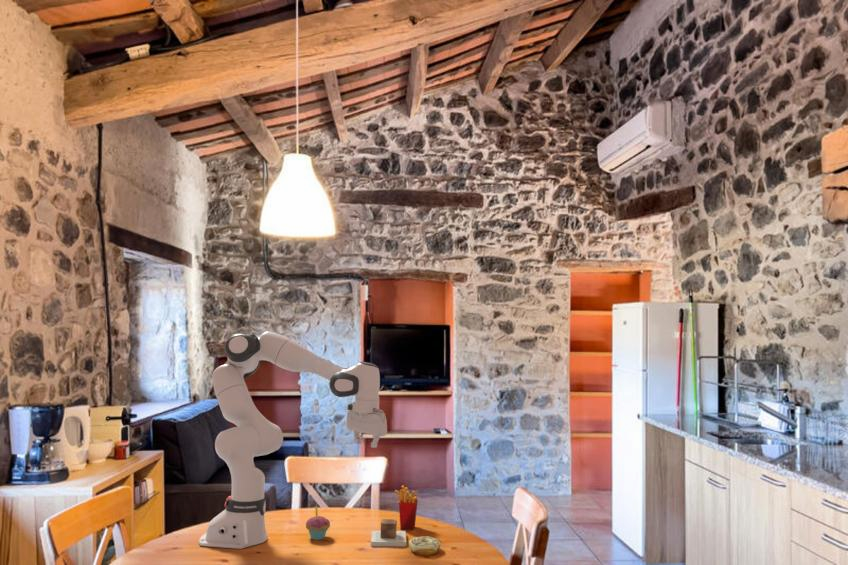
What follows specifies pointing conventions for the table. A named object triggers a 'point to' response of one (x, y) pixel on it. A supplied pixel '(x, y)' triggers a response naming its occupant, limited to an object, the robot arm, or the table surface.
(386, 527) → the walnut cube
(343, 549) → the table surface
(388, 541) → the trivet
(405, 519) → the french fries
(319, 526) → the cupcake
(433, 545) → the decorated donut
